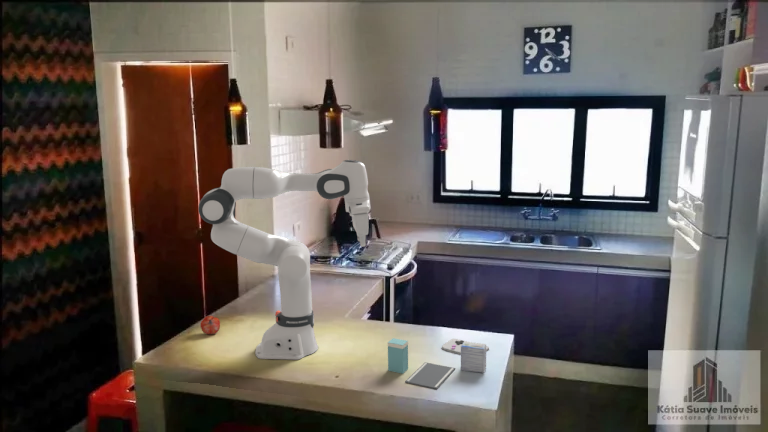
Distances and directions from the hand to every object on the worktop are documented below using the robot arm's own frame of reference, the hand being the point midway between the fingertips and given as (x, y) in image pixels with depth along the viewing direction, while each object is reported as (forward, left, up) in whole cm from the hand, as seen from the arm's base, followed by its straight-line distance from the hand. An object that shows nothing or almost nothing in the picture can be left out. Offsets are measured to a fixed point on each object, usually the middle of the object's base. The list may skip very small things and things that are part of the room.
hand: (361, 243), depth 217 cm
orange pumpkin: (-59, +22, -39) cm, 74 cm away
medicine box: (+35, -24, -39) cm, 58 cm away
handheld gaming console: (+36, -7, -40) cm, 54 cm away
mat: (+20, -27, -39) cm, 51 cm away
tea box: (+10, -21, -39) cm, 45 cm away
